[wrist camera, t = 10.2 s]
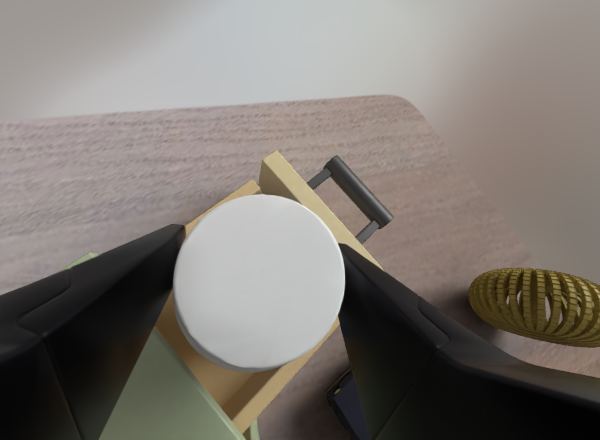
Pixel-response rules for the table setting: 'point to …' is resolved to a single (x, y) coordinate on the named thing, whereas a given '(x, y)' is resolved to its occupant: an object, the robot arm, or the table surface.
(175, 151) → the table surface
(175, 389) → the cabinet
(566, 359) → the table surface
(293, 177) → the drawer
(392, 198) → the table surface
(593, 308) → the sculpture
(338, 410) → the toy car
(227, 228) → the pill bottle
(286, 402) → the table surface
